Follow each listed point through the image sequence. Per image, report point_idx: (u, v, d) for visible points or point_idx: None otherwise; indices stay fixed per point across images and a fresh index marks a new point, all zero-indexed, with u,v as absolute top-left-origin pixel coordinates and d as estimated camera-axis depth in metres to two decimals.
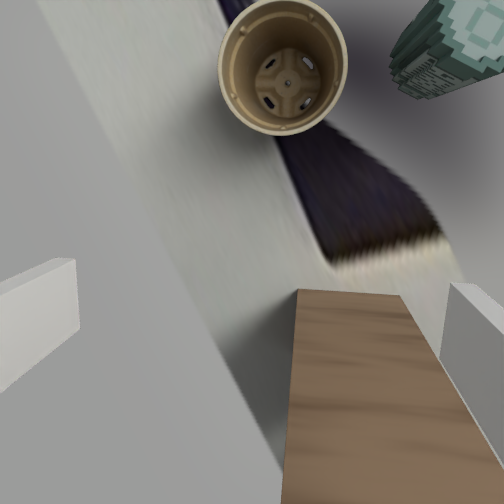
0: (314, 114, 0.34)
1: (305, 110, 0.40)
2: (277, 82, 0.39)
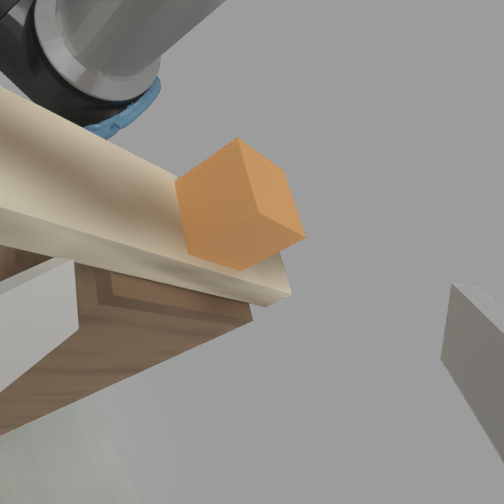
0: None
1: None
2: None
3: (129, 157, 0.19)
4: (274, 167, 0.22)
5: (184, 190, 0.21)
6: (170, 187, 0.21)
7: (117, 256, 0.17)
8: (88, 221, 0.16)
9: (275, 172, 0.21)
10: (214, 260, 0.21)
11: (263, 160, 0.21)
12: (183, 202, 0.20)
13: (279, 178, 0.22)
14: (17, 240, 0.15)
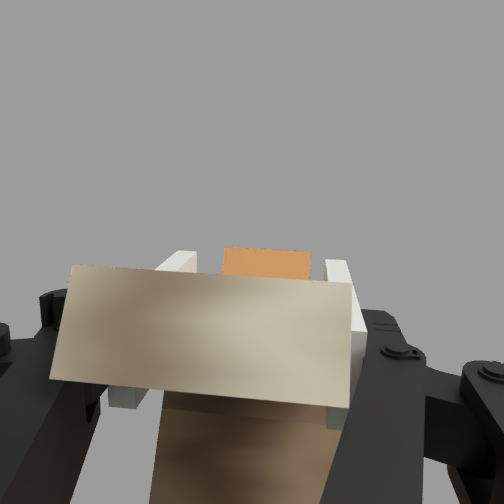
0: None
1: None
2: None
3: None
4: None
5: None
6: None
7: None
8: None
9: None
10: None
11: None
12: None
13: None
14: None
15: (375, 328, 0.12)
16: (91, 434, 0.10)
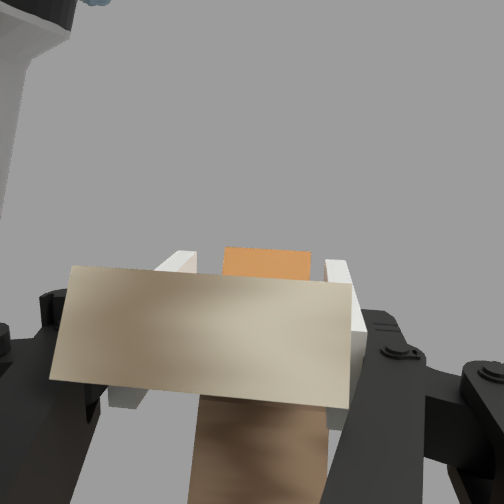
0: None
1: None
2: None
3: None
4: None
5: None
6: None
7: None
8: None
9: None
10: None
11: None
12: None
13: None
14: None
15: (375, 328, 0.12)
16: (91, 434, 0.10)
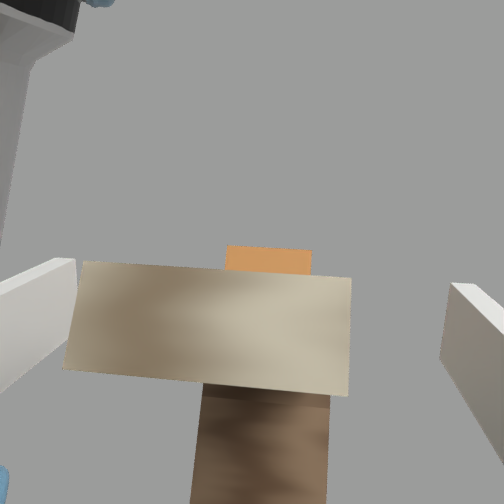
0: None
1: None
2: None
3: None
4: None
5: None
6: None
7: None
8: None
9: None
10: None
11: None
12: None
13: None
14: None
15: None
16: None
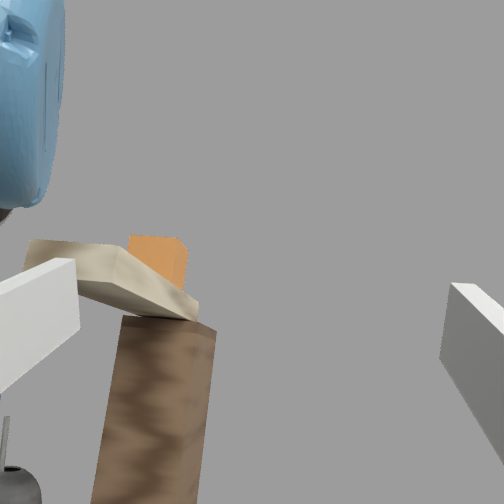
0: None
1: None
2: None
3: None
4: None
5: None
6: None
7: (163, 290, 0.31)
8: None
9: None
10: None
11: None
12: None
13: None
14: (145, 290, 0.28)
15: None
16: None
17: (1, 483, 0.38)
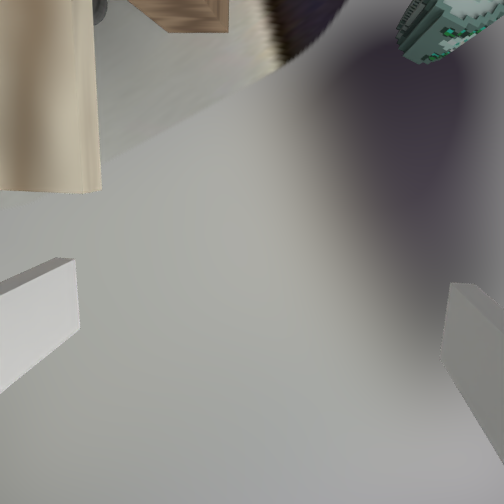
0: None
1: None
2: None
3: None
4: None
5: None
6: None
7: (81, 5, 0.21)
8: (63, 45, 0.20)
9: None
10: None
11: None
12: None
13: None
14: (92, 88, 0.22)
15: None
16: None
17: None
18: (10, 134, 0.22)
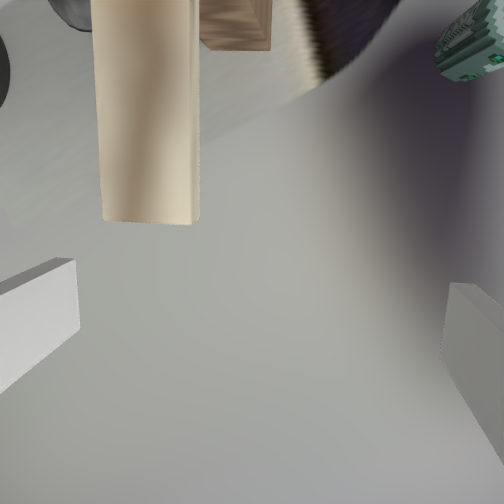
0: None
1: None
2: None
3: (99, 38, 0.22)
4: None
5: None
6: None
7: (194, 53, 0.22)
8: (179, 90, 0.22)
9: None
10: None
11: None
12: None
13: None
14: (197, 126, 0.24)
15: None
16: None
17: (78, 2, 0.38)
18: (123, 170, 0.23)
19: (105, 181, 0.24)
